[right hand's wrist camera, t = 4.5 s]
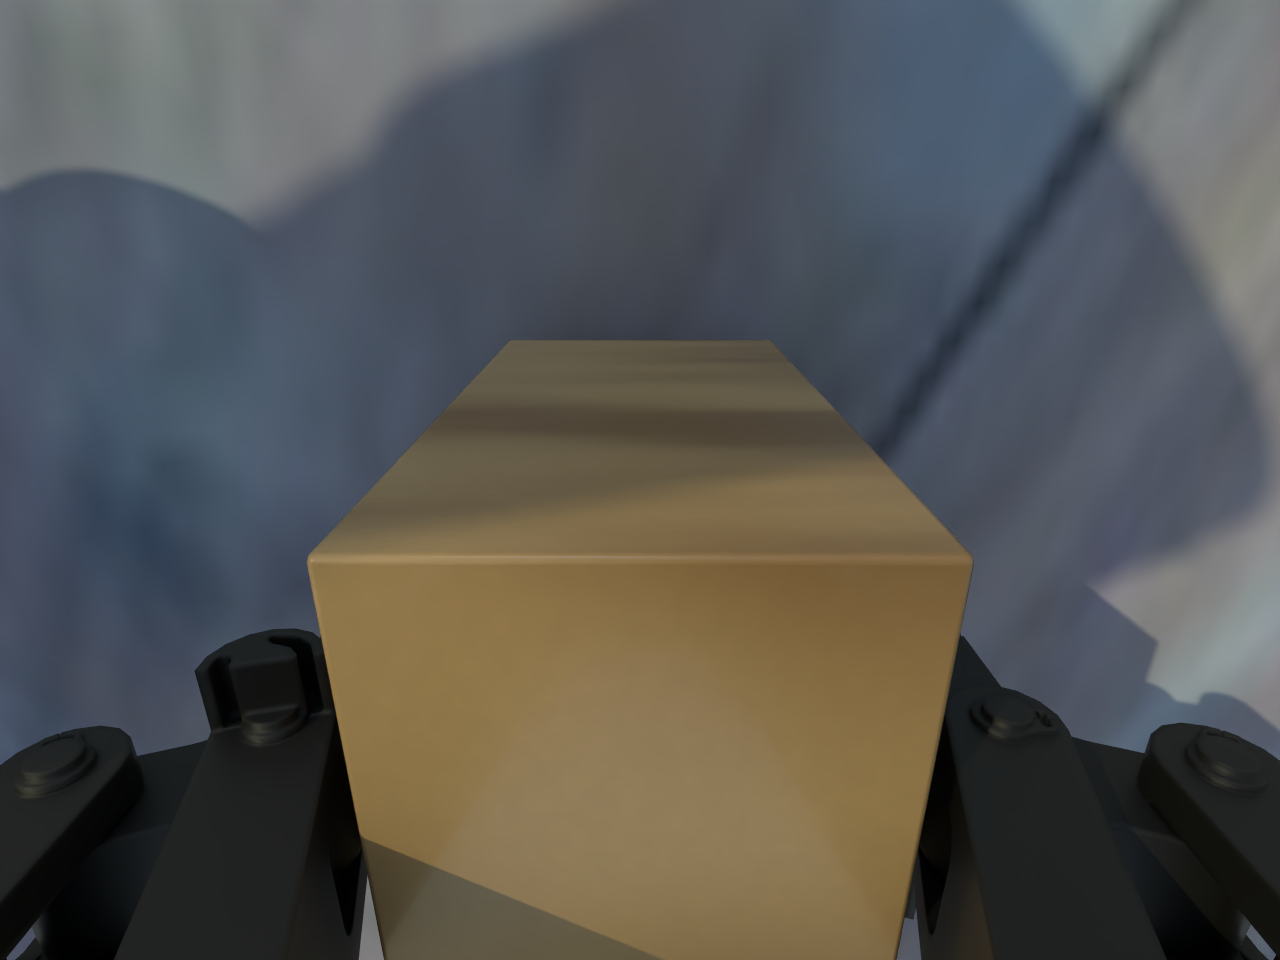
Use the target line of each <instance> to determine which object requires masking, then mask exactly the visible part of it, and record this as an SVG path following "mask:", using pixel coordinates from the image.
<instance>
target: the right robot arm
mask: <svg viewBox="0 0 1280 960" xmlns="http://www.w3.org/2000/svg"><path fill="white" fill-rule="evenodd" d="M960 633H961V632H960ZM320 636H321V635H320ZM195 674H196V678H197V681H198V685H199V688H200V692H201V696H202V699H203V703H204V706H205V710H206V714H207V717H208V721H209V724H210V728H211V734H210V736H209V738H208V740H206V741H203V742H199V743H195V744H192V745H187V746H182V747H178V748H173V749H169V750H164V751H159V752H155V753H150V754H145V755H141V756H137V755H136V752H135V749H134V746H133V743H132V740H131V737H130V736H129V735H127V734H126V733H125V732H124V731H122V730H121V729H120V728H113V727H106V726H95V727H87V728H79V729H74V730H70V731H66V732H62V733H61V734H56V735H53V736H51V737H48V738H45V739H43V740H41V741H40V742H38V743H36V744H34V745H32V746H30V747H28V748H26V749H24V750H22V751H20V752H18V753H17V754H15V755H14V756H12V757H11V758H10V759H8V760H7V761H6V762H4V763H3V764H1V765H0V960H7V959H6V957H7V956H8V955H9V954H10V953H11V951H12V950H13V949H14V948H15V946H16V945H17V944H18V943H19V942H20V940H21V939H22V938H23V937H24V935H25V934H26V933H27V932H28V931H29V929H30V928H31V927H32V929H33V932H34V934H35V936H36V937H35V939H34V940H33V941H32V942H31V944H30V945H29V946H28V947H27V949H26V950H25V951H24V952H23V953H22V954H21V955H20V956H19V957H18V958H17V959H16V960H359V951H360V941H361V932H362V922H363V913H364V903H365V893H366V884H367V869H366V864H365V859H364V854H363V848H362V843H361V838H360V833H359V828H358V823H357V818H356V813H355V807H354V802H353V797H352V792H351V787H350V782H349V777H348V772H347V766H346V761H345V756H344V751H343V746H342V741H341V736H340V731H339V725H338V720H337V715H336V710H335V705H334V700H333V695H332V690H331V684H330V679H329V674H328V669H327V664H326V659H325V654H324V649H323V644H322V638H321V637H320V638H319V637H318V636H316V635H315V634H314V633H313V632H308V631H304V630H299V629H273V630H268V631H264V632H259V633H255V634H250V635H247V636H245V637H242V638H240V639H237V640H235V641H233V642H230V643H228V644H225V645H224V646H222V647H221V648H219V649H218V650H216V651H215V652H213V653H212V654H210V655H209V656H207V657H206V658H205V659H204V661H203V662H202V663H201V664H200V665H199V666H198V668H197V669H196V670H195ZM915 909H916V911H917V920H918V930H919V939H920V949H921V958H922V960H1268V959H1267V958H1266V957H1265V956H1264V955H1263V954H1262V953H1261V952H1260V951H1259V950H1258V949H1257V948H1256V946H1255V945H1254V944H1253V943H1252V941H1251V940H1250V939H1249V938H1248V936H1247V935H1246V933H1247V931H1248V929H1249V927H1250V924H1251V925H1252V926H1253V927H1254V928H1255V929H1256V931H1257V932H1258V933H1259V934H1260V935H1261V937H1262V938H1263V939H1264V940H1265V942H1266V943H1267V944H1268V945H1269V946H1270V948H1271V949H1272V950H1273V951H1274V952H1275V954H1276V956H1275V958H1274V960H1280V761H1279V760H1278V759H1277V758H1275V757H1274V756H1272V755H1271V754H1270V753H1268V752H1267V751H1266V750H1264V749H1262V748H1260V747H1258V746H1256V745H1254V744H1252V743H1250V742H1248V741H1246V740H1244V739H1242V738H1241V737H1239V736H1237V735H1234V734H1231V733H1229V732H1226V731H1221V730H1220V729H1216V728H1212V727H1208V726H1202V725H1195V724H1187V723H1176V724H1169V725H1162V726H1161V727H1159V728H1158V729H1157V730H1155V731H1154V732H1153V733H1152V734H1151V736H1150V739H1149V742H1148V745H1147V748H1146V751H1145V753H1140V752H1135V751H1131V750H1126V749H1121V748H1117V747H1112V746H1107V745H1103V744H1098V743H1093V742H1089V741H1085V740H1082V739H1078V738H1074V737H1071V735H1070V732H1069V730H1068V729H1067V728H1066V726H1065V725H1064V723H1063V722H1062V721H1061V719H1060V718H1059V716H1058V715H1057V714H1055V713H1054V712H1053V711H1051V710H1050V709H1049V708H1047V707H1046V706H1045V705H1043V704H1042V703H1041V702H1039V701H1037V700H1035V699H1033V698H1031V697H1029V696H1027V695H1024V694H1022V693H1020V692H1018V691H1015V690H1011V689H1007V688H1003V687H1001V686H1000V685H999V683H998V682H997V681H996V679H995V678H994V677H993V675H992V674H991V673H990V671H989V670H988V669H987V667H986V666H985V664H984V663H983V662H982V660H981V659H980V658H979V656H978V655H977V654H976V652H975V651H974V650H973V648H972V647H971V646H970V644H969V643H968V642H967V640H966V639H965V638H964V636H961V634H960V637H959V642H958V647H957V652H956V658H955V663H954V668H953V673H952V678H951V683H950V688H949V693H948V698H947V703H946V709H945V714H944V719H943V724H942V729H941V734H940V739H939V744H938V749H937V755H936V760H935V765H934V770H933V775H932V780H931V785H930V790H929V795H928V800H927V806H926V811H925V816H924V821H923V826H922V831H921V836H920V841H919V846H918V852H917V857H916V862H915V867H914V872H913V877H912V882H911V887H910V892H909V898H908V903H907V908H906V913H905V918H910V919H914V914H915Z"/></svg>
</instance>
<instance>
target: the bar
mask: <svg viewBox="0 0 1280 960" xmlns="http://www.w3.org/2000/svg"><path fill="white" fill-rule="evenodd" d="M973 566H974V561H973V557H972V554H971V553H970V552H969V551H968V550H967V549H966V548H965V547H964V546H963V545H962V544H961V543H960V541H959V540H958V539H957V538H956V537H955V536H954V535H953V534H952V533H951V532H950V531H949V530H948V529H947V528H946V527H945V526H944V524H943V523H942V522H941V521H940V520H939V519H938V518H937V517H936V516H935V515H934V514H933V513H932V512H931V511H930V510H929V509H928V507H927V506H926V505H925V504H924V503H923V502H922V501H921V500H920V499H919V498H918V497H917V496H916V495H915V494H914V493H913V491H912V490H911V489H910V488H909V487H908V486H907V485H906V484H905V483H904V482H903V481H902V480H901V479H900V478H899V477H898V476H897V474H896V473H895V472H894V471H893V470H892V469H891V468H890V467H889V466H888V465H887V464H886V463H885V462H884V461H883V460H882V459H881V457H880V456H879V455H878V454H877V453H876V452H875V451H874V450H873V449H872V448H871V447H870V446H869V445H868V444H867V443H866V441H865V440H864V439H863V438H862V437H861V436H860V435H859V434H858V433H857V432H856V431H855V430H854V429H853V428H852V427H851V426H850V424H849V423H848V422H847V421H846V420H845V419H844V418H843V417H842V416H841V415H840V414H839V413H838V412H837V411H836V410H835V409H834V407H833V406H832V405H831V404H830V403H829V402H828V401H827V400H826V399H825V398H824V397H823V396H822V395H821V394H820V393H819V391H818V390H817V389H816V388H815V387H814V386H813V385H812V384H811V383H810V382H809V381H808V380H807V379H806V378H805V377H804V376H803V374H802V373H801V372H800V371H799V370H798V369H797V368H796V367H795V366H794V365H793V364H792V363H791V362H790V361H789V360H788V358H787V357H786V356H785V355H784V354H783V353H782V352H781V351H780V350H779V349H778V348H777V347H776V346H775V345H774V344H773V343H772V341H769V340H511V341H509V342H508V343H507V344H506V345H505V346H504V347H503V348H502V349H501V350H500V351H499V352H498V354H497V355H496V356H495V357H494V358H493V359H492V360H491V361H490V362H489V363H488V364H487V365H486V366H485V367H484V368H483V370H482V371H481V372H480V373H479V374H478V375H477V376H476V377H475V378H474V379H473V380H472V381H471V382H470V383H469V384H468V386H467V387H466V388H465V389H464V390H463V391H462V392H461V393H460V394H459V395H458V396H457V397H456V398H455V399H454V400H453V402H452V403H451V404H450V405H449V406H448V407H447V408H446V409H445V410H444V411H443V412H442V413H441V414H440V415H439V416H438V418H437V419H436V420H435V421H434V422H433V423H432V424H431V425H430V426H429V427H428V428H427V429H426V430H425V431H424V432H423V433H422V435H421V436H420V437H419V438H418V439H417V440H416V441H415V442H414V443H413V444H412V445H411V446H410V447H409V448H408V449H407V451H406V452H405V453H404V454H403V455H402V456H401V457H400V458H399V459H398V460H397V461H396V462H395V463H394V464H393V465H392V467H391V468H390V469H389V470H388V471H387V472H386V473H385V474H384V475H383V476H382V477H381V478H380V479H379V480H378V481H377V483H376V484H375V485H374V486H373V487H372V488H371V489H370V490H369V491H368V492H367V493H366V494H365V495H364V496H363V497H362V499H361V500H360V501H359V502H358V503H357V504H356V505H355V506H354V507H353V508H352V509H351V510H350V511H349V512H348V513H347V515H346V516H345V517H344V518H343V519H342V520H341V521H340V522H339V523H338V524H337V525H336V526H335V527H334V528H333V529H332V531H331V532H330V533H329V534H328V535H327V536H326V537H325V538H324V539H323V540H322V541H321V542H320V543H319V544H318V545H317V547H316V548H315V549H314V550H313V551H312V552H311V553H310V554H309V556H308V560H307V567H308V572H309V577H310V582H311V587H312V592H313V597H314V603H315V608H316V613H317V618H318V623H319V628H320V633H321V638H322V644H323V649H324V654H325V659H326V664H327V669H328V674H329V679H330V684H331V690H332V695H333V700H334V705H335V710H336V715H337V720H338V725H339V731H340V736H341V741H342V746H343V751H344V756H345V761H346V766H347V772H348V777H349V782H350V787H351V792H352V797H353V802H354V807H355V813H356V818H357V823H358V828H359V833H360V838H361V843H362V848H363V854H364V859H365V864H366V869H367V874H368V879H369V884H370V889H371V895H372V900H373V905H374V910H375V915H376V920H377V925H378V930H379V935H380V941H381V946H382V951H383V956H384V960H896V959H897V954H898V949H899V943H900V938H901V933H902V928H903V923H904V918H905V913H906V908H907V903H908V898H909V892H910V887H911V882H912V877H913V872H914V867H915V862H916V857H917V852H918V846H919V841H920V836H921V831H922V826H923V821H924V816H925V811H926V806H927V800H928V795H929V790H930V785H931V780H932V775H933V770H934V765H935V760H936V755H937V749H938V744H939V739H940V734H941V729H942V724H943V719H944V714H945V709H946V703H947V698H948V693H949V688H950V683H951V678H952V673H953V668H954V663H955V658H956V652H957V647H958V642H959V637H960V632H961V627H962V622H963V617H964V612H965V606H966V601H967V596H968V591H969V586H970V581H971V576H972V571H973Z"/></svg>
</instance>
